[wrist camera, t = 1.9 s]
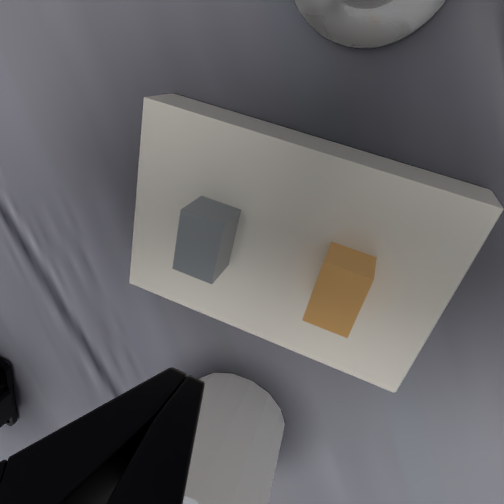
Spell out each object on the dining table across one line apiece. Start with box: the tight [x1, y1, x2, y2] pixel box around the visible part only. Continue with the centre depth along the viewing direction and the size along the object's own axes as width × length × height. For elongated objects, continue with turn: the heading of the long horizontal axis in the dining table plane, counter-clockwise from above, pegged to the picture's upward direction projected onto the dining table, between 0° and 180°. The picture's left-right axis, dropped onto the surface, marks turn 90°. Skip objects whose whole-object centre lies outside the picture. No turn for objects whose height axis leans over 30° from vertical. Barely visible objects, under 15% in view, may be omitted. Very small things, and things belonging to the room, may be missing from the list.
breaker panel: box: [129, 93, 504, 393], centre depth 15 cm, size 12×8×4 cm, turn 77°
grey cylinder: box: [183, 373, 285, 504], centre depth 19 cm, size 7×7×7 cm
